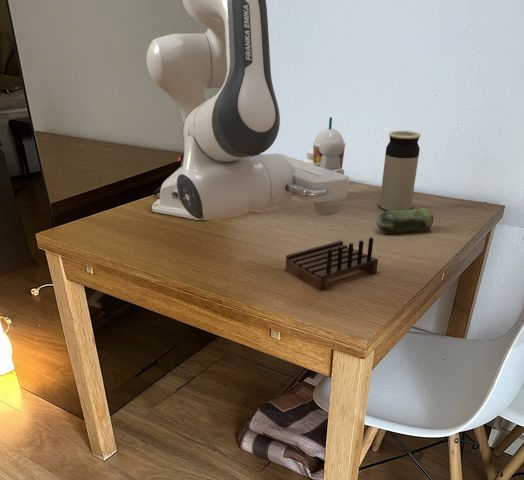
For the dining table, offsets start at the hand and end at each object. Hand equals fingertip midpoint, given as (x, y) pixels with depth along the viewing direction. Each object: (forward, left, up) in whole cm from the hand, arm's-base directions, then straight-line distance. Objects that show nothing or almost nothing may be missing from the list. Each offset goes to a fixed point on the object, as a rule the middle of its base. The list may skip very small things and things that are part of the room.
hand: (333, 170), depth 98 cm
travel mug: (+10, +42, -19) cm, 47 cm away
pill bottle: (-15, +58, -19) cm, 63 cm away
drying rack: (+1, -2, -19) cm, 19 cm away
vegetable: (+13, +25, -19) cm, 34 cm away
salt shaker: (0, -1, -8) cm, 8 cm away
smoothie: (-9, +47, -19) cm, 51 cm away
